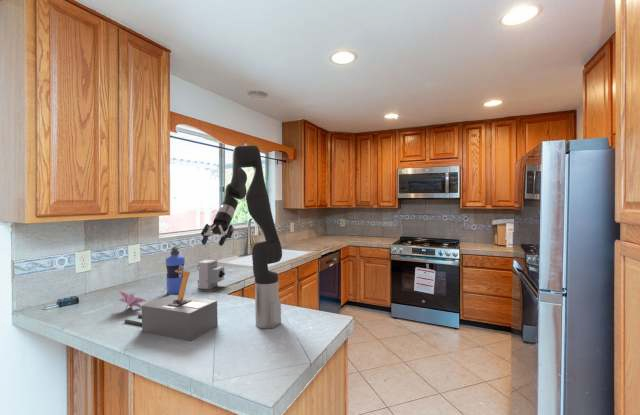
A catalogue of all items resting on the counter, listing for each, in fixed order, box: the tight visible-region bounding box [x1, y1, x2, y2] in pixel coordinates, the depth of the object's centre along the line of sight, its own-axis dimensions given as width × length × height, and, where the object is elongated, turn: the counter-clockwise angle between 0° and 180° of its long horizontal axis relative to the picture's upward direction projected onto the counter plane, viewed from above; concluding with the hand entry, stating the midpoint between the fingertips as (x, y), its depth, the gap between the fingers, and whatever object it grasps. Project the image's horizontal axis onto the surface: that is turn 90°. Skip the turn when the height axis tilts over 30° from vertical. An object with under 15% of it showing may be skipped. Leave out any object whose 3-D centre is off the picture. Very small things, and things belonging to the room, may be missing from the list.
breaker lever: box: [177, 271, 191, 302], centre depth 118 cm, size 2×1×12 cm, turn 69°
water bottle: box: [165, 246, 186, 296], centre depth 163 cm, size 9×9×25 cm
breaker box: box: [124, 294, 219, 342], centre depth 119 cm, size 39×14×11 cm, turn 69°
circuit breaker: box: [196, 259, 226, 290], centre depth 173 cm, size 8×14×15 cm, turn 78°
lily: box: [117, 290, 147, 315], centre depth 136 cm, size 12×12×10 cm
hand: (211, 244), depth 133 cm, fingers open, 8 cm apart
